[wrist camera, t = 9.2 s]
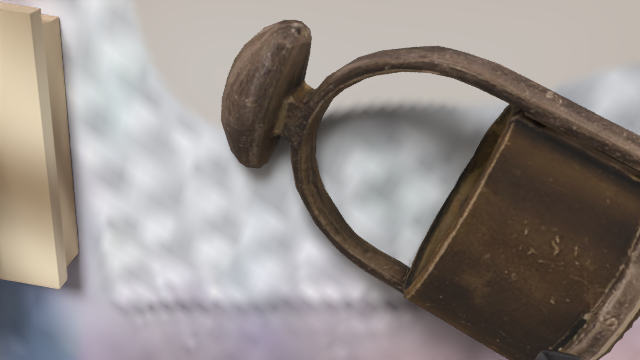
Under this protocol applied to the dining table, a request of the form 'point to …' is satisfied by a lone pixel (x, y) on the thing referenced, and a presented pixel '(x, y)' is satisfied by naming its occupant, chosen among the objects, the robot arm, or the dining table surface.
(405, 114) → the dining table surface
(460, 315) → the brown looped cylinder
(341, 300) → the dining table surface
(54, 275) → the cream slab
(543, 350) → the robot arm
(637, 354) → the dining table surface
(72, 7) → the dining table surface
